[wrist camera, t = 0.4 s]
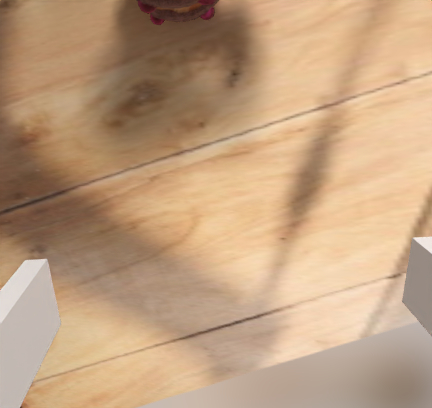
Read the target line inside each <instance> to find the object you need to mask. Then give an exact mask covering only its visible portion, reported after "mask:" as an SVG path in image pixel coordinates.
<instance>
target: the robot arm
mask: <svg viewBox="0 0 432 408" xmlns="http://www.w3.org/2000/svg"><path fill="white" fill-rule="evenodd" d="M402 302H403V303H404V304H405V306H406V307H407V308H408V309H409V310H410V311H411V313H412V314H413V315H414V316H415V317H416V318H417V320H418V321H419V322H420V323H421V324H422V325H423V327H424V328H425V329H426V330H427V331H428V332H429V334H430V335H431V336H432V237H418V238H412V243H411V249H410V256H409V262H408V268H407V274H406V281H405V287H404V293H403V300H402ZM60 325H61V321H60V316H59V311H58V307H57V302H56V297H55V293H54V288H53V283H52V279H51V274H50V269H49V264H48V260H47V259H37V260H25V261H24V262H23V263H22V265H21V266H20V267H19V268H18V269H17V271H16V272H15V273H14V274H13V276H12V277H11V278H10V279H9V280H8V282H7V283H6V284H5V285H4V286H3V288H2V289H1V290H0V408H20V406H21V404H22V402H23V400H24V398H25V396H26V394H27V392H28V390H29V388H30V386H31V384H32V382H33V380H34V378H35V376H36V374H37V372H38V370H39V368H40V366H41V364H42V362H43V360H44V357H45V355H46V353H47V351H48V349H49V347H50V345H51V343H52V341H53V339H54V337H55V335H56V333H57V331H58V329H59V327H60Z"/></svg>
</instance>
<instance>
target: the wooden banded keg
mask: <svg viewBox="0 0 432 408" xmlns="http://www.w3.org/2000/svg"><path fill="white" fill-rule="evenodd" d="M137 1H138V5H139V7H140V9H141V10H142V11H143V12H146V13H148V14H149V13H150V18H151V21H152V22H153V23H154V24H156V25H161V24H162V23H163V22H164V21H165V20H167V21H174V22H185V21H189V20H193V19H196V18H198V17H201V18H203V19H204V20H209V19H211V18H212V17H213V16H214V13H215V11H214V5H215V4H216V3H217V2H218V0H137Z"/></svg>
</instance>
